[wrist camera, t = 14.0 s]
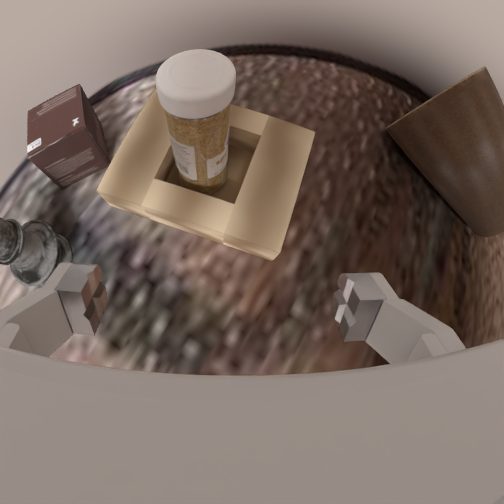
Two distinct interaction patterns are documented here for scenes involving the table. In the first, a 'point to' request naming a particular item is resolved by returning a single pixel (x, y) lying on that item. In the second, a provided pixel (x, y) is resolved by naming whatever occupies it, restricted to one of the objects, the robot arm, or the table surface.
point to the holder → (229, 195)
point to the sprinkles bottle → (198, 115)
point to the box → (66, 138)
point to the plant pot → (461, 149)
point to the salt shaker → (32, 250)
